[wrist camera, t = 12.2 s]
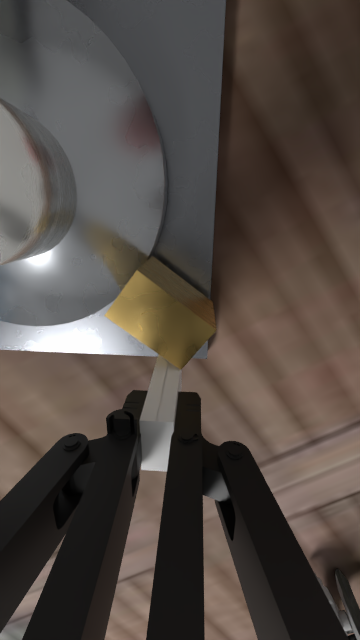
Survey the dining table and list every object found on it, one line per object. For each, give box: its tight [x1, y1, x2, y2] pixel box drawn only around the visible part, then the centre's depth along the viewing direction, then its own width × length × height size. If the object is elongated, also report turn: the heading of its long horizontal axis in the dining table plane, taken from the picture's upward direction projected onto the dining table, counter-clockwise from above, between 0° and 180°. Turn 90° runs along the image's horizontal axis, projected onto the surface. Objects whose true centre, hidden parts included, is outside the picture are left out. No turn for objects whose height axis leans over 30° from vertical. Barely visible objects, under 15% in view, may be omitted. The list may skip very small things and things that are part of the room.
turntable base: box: [0, 0, 226, 359], centre depth 19 cm, size 24×24×1 cm
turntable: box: [0, 0, 216, 370], centre depth 16 cm, size 18×23×6 cm
